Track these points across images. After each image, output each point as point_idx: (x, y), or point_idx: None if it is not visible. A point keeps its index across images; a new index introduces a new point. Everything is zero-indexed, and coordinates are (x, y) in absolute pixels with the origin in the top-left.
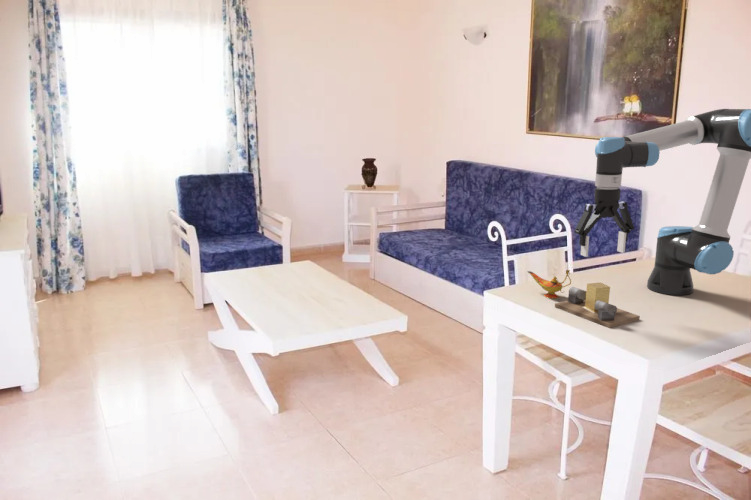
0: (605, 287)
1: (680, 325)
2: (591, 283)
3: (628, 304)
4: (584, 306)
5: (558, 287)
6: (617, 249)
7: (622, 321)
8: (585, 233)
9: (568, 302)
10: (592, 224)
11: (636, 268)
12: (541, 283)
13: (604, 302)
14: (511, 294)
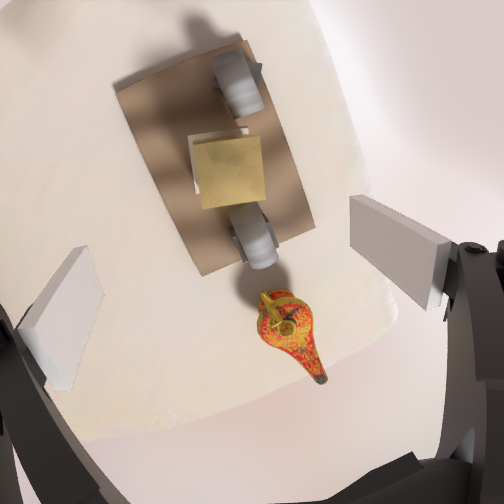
0: (215, 142)
1: (40, 55)
2: (247, 199)
3: (88, 225)
4: None
5: (281, 302)
6: (101, 298)
7: (190, 59)
8: (478, 254)
9: (274, 231)
10: (496, 314)
11: None
12: (312, 330)
13: (241, 89)
14: (360, 318)
